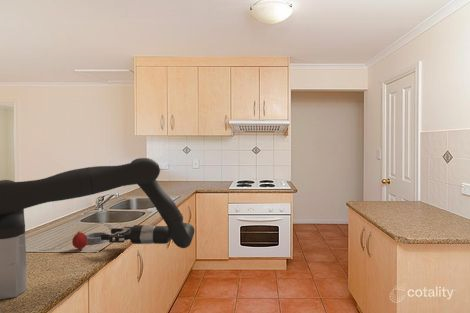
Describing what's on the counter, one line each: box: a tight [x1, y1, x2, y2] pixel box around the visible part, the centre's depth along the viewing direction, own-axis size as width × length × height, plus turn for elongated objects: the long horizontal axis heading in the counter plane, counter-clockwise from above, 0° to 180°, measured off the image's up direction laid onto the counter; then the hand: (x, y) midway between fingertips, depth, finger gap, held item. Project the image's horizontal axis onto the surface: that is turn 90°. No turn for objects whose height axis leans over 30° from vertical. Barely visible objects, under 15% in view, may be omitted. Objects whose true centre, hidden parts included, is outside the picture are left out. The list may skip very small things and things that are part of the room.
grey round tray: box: [85, 231, 109, 245], centre depth 146 cm, size 10×10×2 cm
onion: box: [71, 230, 88, 251], centre depth 133 cm, size 6×6×8 cm
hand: (106, 234), depth 132 cm, fingers open, 8 cm apart
